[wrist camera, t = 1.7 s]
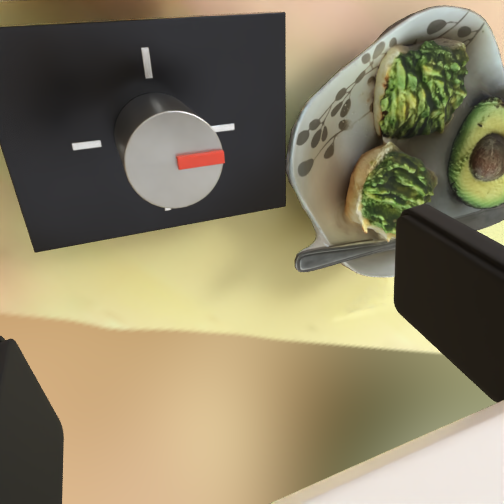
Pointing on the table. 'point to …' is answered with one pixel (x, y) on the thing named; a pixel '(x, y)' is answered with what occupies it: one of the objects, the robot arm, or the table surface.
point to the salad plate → (401, 139)
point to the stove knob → (167, 151)
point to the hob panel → (115, 99)
